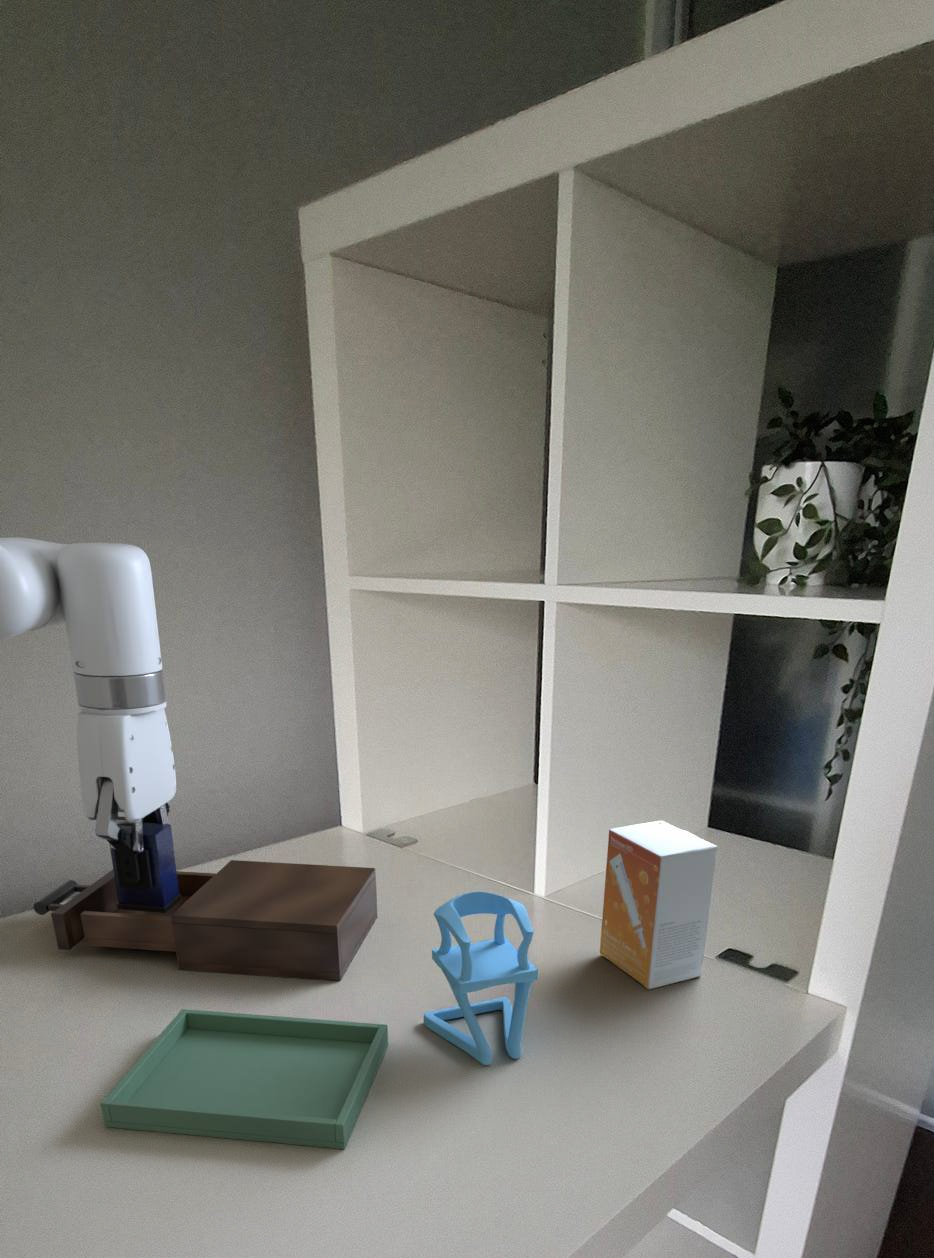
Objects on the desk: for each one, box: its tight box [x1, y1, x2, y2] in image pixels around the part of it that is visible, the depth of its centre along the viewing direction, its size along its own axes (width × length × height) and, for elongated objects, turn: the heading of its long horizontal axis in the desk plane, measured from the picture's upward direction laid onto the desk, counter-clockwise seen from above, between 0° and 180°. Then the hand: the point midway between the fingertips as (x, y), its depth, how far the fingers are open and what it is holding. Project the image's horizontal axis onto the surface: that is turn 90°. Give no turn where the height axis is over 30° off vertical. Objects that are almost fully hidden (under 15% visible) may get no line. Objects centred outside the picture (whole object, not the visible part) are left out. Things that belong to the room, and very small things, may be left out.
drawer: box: [32, 869, 217, 953], centre depth 91 cm, size 19×13×4 cm
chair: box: [423, 890, 539, 1066], centre depth 72 cm, size 8×8×12 cm
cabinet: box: [171, 859, 378, 982], centre depth 89 cm, size 16×15×6 cm
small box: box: [599, 820, 718, 990], centre depth 83 cm, size 8×6×13 cm
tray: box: [100, 1008, 389, 1150], centre depth 68 cm, size 17×13×2 cm
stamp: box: [108, 823, 181, 913], centre depth 89 cm, size 5×4×8 cm
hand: (146, 878), depth 89 cm, fingers closed on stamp, 3 cm apart
